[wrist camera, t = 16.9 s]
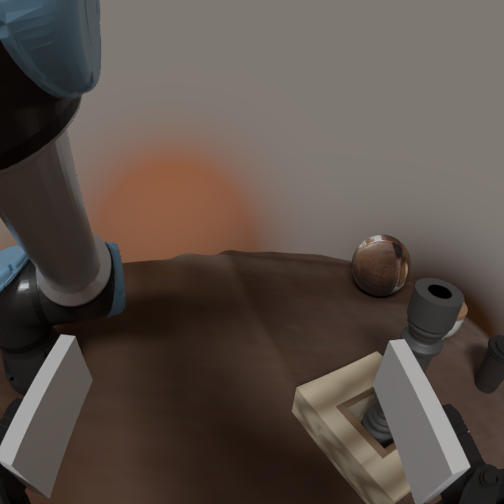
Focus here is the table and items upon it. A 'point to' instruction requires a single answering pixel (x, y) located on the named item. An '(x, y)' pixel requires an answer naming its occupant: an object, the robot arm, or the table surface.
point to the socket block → (351, 430)
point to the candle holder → (420, 338)
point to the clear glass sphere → (381, 265)
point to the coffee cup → (492, 366)
